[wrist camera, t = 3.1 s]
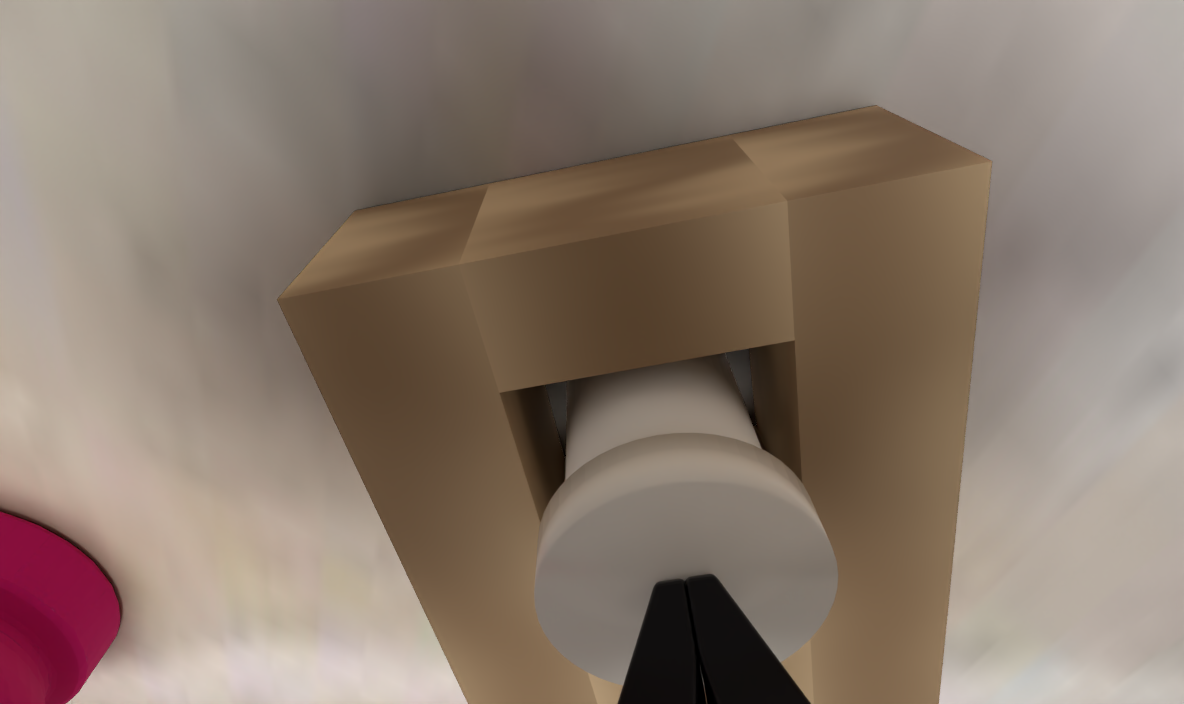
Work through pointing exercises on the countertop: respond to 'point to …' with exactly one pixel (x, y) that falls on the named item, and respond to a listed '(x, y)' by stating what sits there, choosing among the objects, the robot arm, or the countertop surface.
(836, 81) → the countertop surface
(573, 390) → the white plug
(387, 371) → the oak socket block
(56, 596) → the pepper mill
